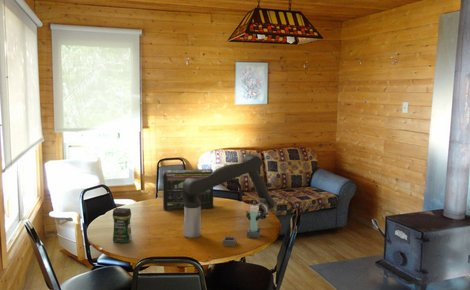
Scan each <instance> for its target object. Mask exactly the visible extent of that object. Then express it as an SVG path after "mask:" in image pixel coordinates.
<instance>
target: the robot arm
mask: <svg viewBox="0 0 470 290" xmlns="http://www.w3.org/2000/svg"><path fill="white" fill-rule="evenodd" d="M262 166H263V160H262V158H261V157H260V156H258V155H255V154H252V153H247V154H245V155H244V157H243V159H242V162H239V163H230V164H226V165H223V166H221V167H217V169H215V170H213V173H212V174H211V175H209V176H208V177H205V178H202V179H199V180H196V179H194V178H187V179H186V180H185V181H184V183H183V201H184V210H183V211H184V212H183V213H184V217H183V218H184V219H183V221H182V222H183V229H182V230H183V233H182V234H183V237H186V238H190V239H192V238H193V239H195V238H196V239H197V238H199V237H201V226H202V225H201V223H202V222H201V219H202V218H201V216H202V215H201V210H202V209H201V202H200V200H199V198H198V195H200V194H201V193H203V192H205V191H207V190H209V189H210V188H213V189H214V188H215V187H218V186H220V185H222V184H225V183H228V182H229V181H232V180H234V179H236V178H238V177H241V176H243V175H246V174H248V176H249V177H250V180H251V182H252V184H253V186H254V189H255V193H256V195H257V197H258V198H259V200H258V202H257V204H256V206H259V210H258V216H257V217H256V221H257V220H258V221H259V220H265V219H268V218H269V213H268V212H269V210H273V209H274V208H275V206H276V203H275V200H274V198H273V197H272V196H271V194H270V193H269V191H268V188H267V186H266V183H265V181H264V180H263V178H262V176H261V174H259V172H258V170H259V169H261V168H262ZM245 216H246V218H247V219H248V221H250V211H248V210H246V211H245Z"/></svg>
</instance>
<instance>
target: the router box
mask: <svg viewBox="0 0 470 290" xmlns="http://www.w3.org/2000/svg"><path fill="white" fill-rule="evenodd" d="M213 172H214V170H213V169H209V168H208V169H207V168H206V169H205V168H204V169H166V170H165V169H163V170H162V207H163V208H162V209H163V211H179V210H181V211H184V201H183V183H184V181H185V180H186V179H187V178H194V179H196V180H199V179H202V178H205V177H208V176H209V175H211V174H212V173H213ZM198 198H199V200H200V202H201V210H209V209H210V210H211V209H214V187H213V188H210V189H209V190H207V191H205V192H203V193H201V194H200V195H198Z"/></svg>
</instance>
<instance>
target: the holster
mask: <svg viewBox="0 0 470 290" xmlns="http://www.w3.org/2000/svg"><path fill="white" fill-rule="evenodd" d="M236 243H237V237H236V236H225V235H224V237H223V239H222V247H233V248H234V247H235V246H236Z"/></svg>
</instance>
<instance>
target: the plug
mask: <svg viewBox="0 0 470 290" xmlns="http://www.w3.org/2000/svg"><path fill="white" fill-rule="evenodd" d="M258 210H259V206H257V201H256V200H253V202H252V205H250V206H249V212H250V220H249V222H250V224H249V226H250V227H249V228H250V231H254V232H258V228H259V220H257V221H256V217H257V216H258Z"/></svg>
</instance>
